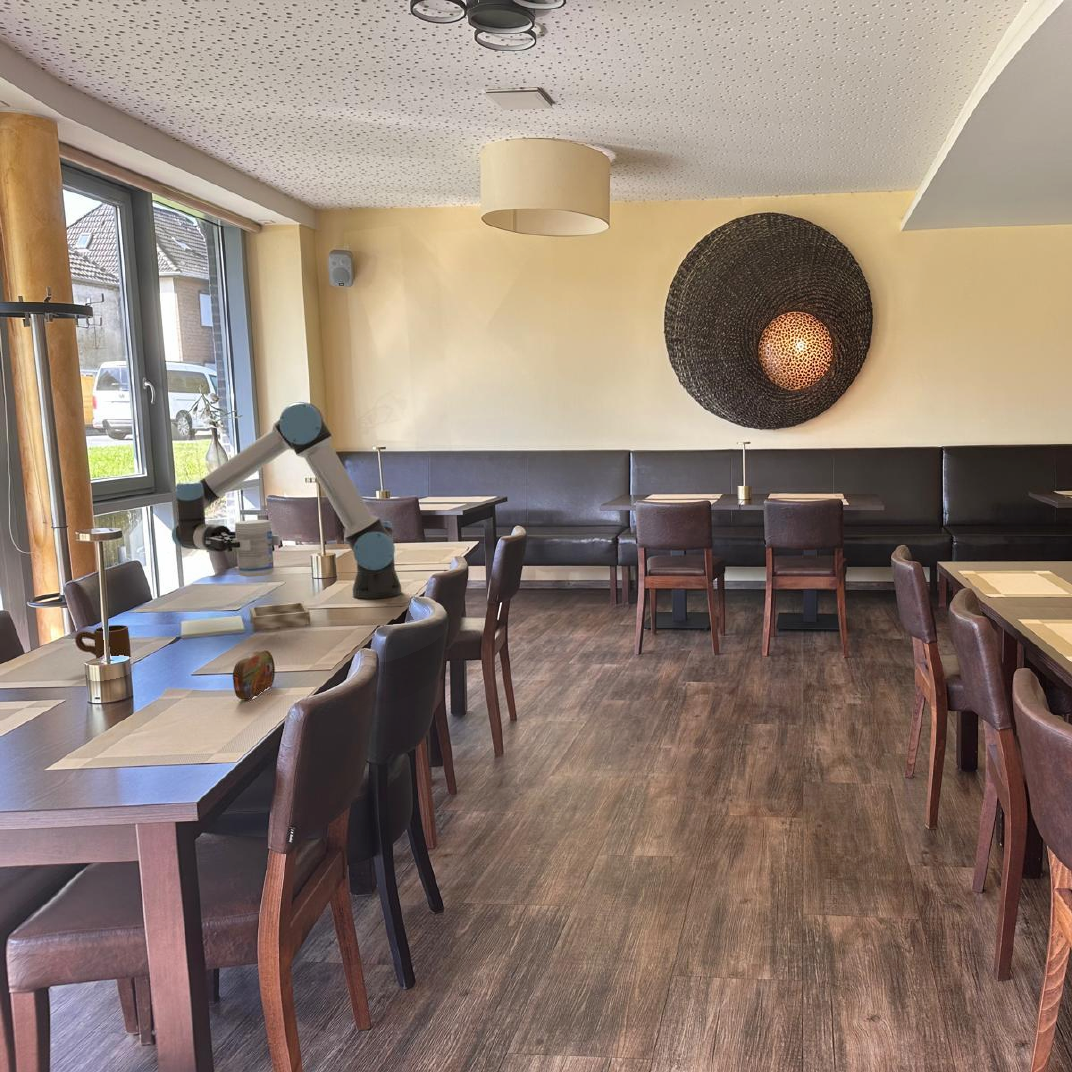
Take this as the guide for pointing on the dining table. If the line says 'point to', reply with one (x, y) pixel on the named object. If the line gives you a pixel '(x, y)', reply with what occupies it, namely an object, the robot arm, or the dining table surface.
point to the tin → (253, 674)
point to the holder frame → (279, 615)
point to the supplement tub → (255, 548)
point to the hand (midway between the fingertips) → (264, 542)
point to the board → (211, 627)
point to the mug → (117, 641)
